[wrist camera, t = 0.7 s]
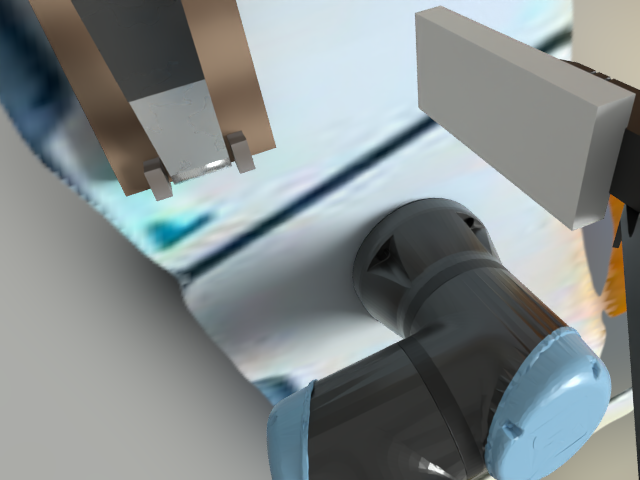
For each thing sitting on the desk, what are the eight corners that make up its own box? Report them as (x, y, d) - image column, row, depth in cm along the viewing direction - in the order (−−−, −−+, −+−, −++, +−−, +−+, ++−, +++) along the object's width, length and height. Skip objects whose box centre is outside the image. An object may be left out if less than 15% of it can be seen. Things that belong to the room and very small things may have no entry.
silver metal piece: (226, 152, 39) (233, 171, 39) (171, 170, 39) (177, 189, 38) (161, -57, 22) (171, -30, 22) (61, -31, 22) (69, -3, 21)
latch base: (268, 136, 43) (284, 162, 38) (127, 181, 41) (127, 214, 37) (171, -209, 30) (178, -231, 25) (-41, -163, 28) (-72, -177, 24)
